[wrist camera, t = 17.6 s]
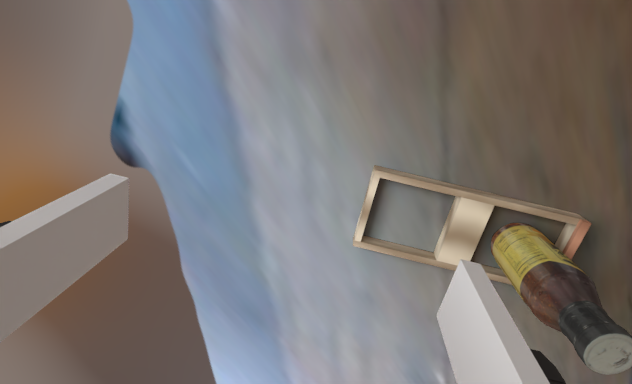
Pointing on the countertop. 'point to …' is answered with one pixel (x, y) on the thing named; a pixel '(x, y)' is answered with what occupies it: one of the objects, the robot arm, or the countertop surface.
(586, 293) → the sauce bottle
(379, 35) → the countertop surface
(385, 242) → the bottle rack
